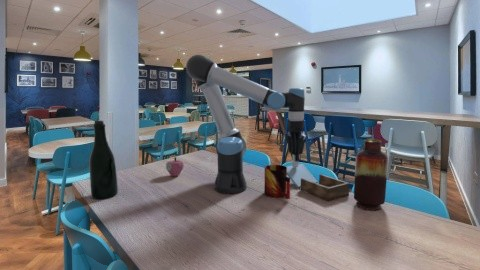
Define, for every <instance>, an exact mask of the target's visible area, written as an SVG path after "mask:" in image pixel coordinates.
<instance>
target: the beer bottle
mask: <svg viewBox="0 0 480 270" xmlns="http://www.w3.org/2000/svg"><path fill="white" fill-rule="evenodd" d="M93 131H94V132H93V133H94V139H93V140H94V141H93V147H92V149H91V152H90V156H89V159H88V160H89V164H88V165H89V166H88V168H89V182H90V193H91V194H90V195H91V197H92V199H96V200H105V199H110V198H113V197H114V196H116V195H117V194H118V193H119V188H118V187H119V186H118V175H117V168H116V167H117V166H116V159H115V156H114V153H113V151H112V150H111V147H110V145H109V143H108V140H107V133H106V124H105V123H104V120H95V121H94V123H93Z"/></svg>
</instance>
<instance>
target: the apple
mask: <svg viewBox="0 0 480 270" xmlns="http://www.w3.org/2000/svg"><path fill="white" fill-rule="evenodd" d="M184 167H185V165H184V162H183V160H180V159H177V157H176V156H175V157H174V160H171V161H167V162H166V164H165V168H166V169H165V170H167V173H168V174H169V175H170V176H171V177H179V176H180V174H181V172H182V171H183V169H184ZM178 175H179V176H178Z"/></svg>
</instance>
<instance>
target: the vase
mask: <svg viewBox="0 0 480 270" xmlns="http://www.w3.org/2000/svg"><path fill="white" fill-rule="evenodd" d="M354 165H355V167H354V169H355V170H354V184H353V199H354V201H355V202H356V203H355V205H356V207H357V208H360V209H362V210H366V211H372V212H376V211H381V210H382V205H383V204H385V201H386V192H387V180H388V179H387V178H388V169H389V167H388V165H389V156H388V155H387V154H386V153H384V152H383V151H382V140H380V139H373V138H372V139H371V138H370V139H369V138H367V139H364V141H363V150H361V151H359V152H357V153H356V156H355V164H354Z"/></svg>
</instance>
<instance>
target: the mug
mask: <svg viewBox="0 0 480 270" xmlns="http://www.w3.org/2000/svg"><path fill="white" fill-rule="evenodd" d="M263 189H264V191H263V192H264V195H265V196H266V197H269V198H273V199H280V198H285V199H287V200H289V199H291V179H290V178H289V177H288V175H287V166H285V165H281V164H268V165H265V166H264V187H263Z"/></svg>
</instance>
